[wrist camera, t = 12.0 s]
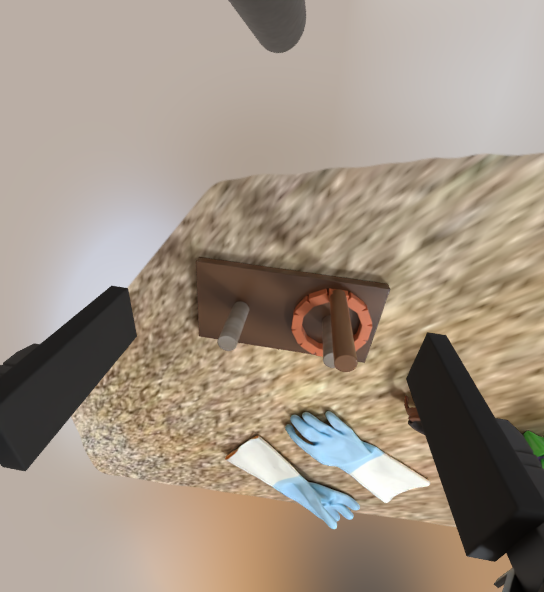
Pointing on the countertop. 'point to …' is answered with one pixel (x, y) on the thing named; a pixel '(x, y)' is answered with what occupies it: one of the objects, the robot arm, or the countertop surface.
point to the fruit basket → (536, 445)
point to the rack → (275, 306)
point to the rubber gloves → (333, 452)
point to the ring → (335, 326)
